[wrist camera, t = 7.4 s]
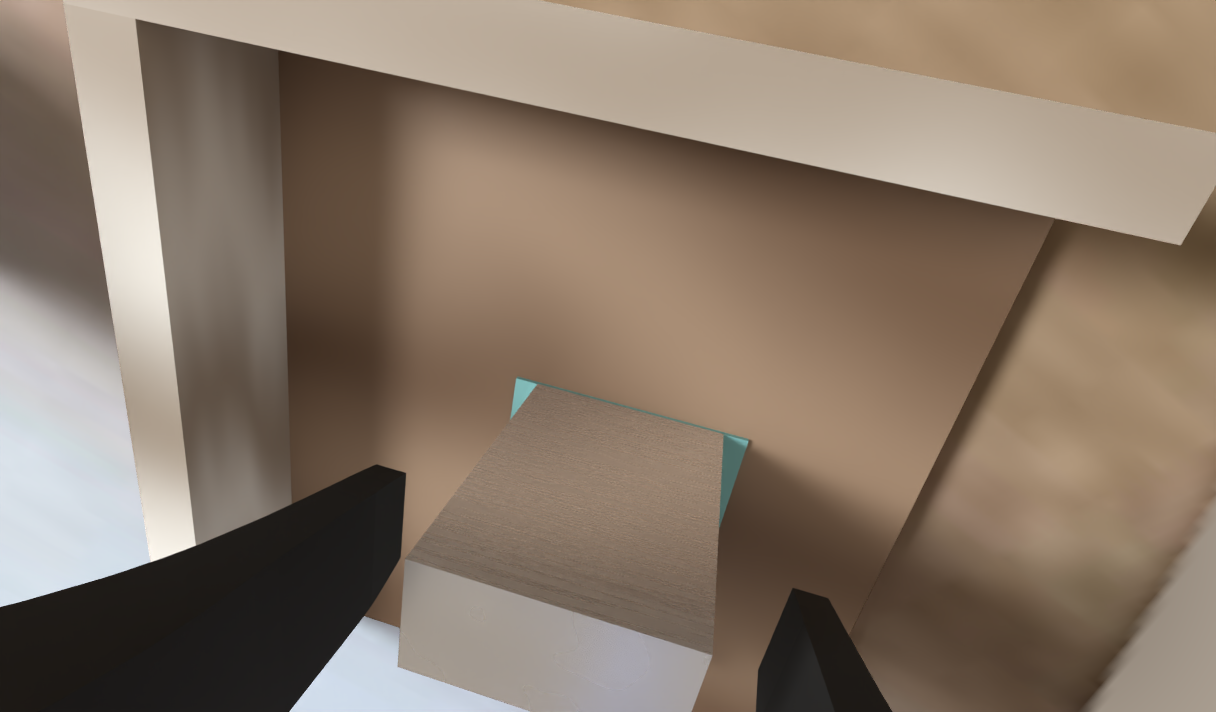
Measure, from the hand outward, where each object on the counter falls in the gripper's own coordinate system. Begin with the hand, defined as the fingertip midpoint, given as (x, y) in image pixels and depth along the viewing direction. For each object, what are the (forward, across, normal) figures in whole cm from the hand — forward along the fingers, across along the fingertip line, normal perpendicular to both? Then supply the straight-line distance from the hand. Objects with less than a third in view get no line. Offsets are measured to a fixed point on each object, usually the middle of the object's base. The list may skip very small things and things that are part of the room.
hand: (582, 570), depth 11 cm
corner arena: (+3, +1, 0) cm, 3 cm away
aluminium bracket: (+3, 0, +1) cm, 3 cm away
